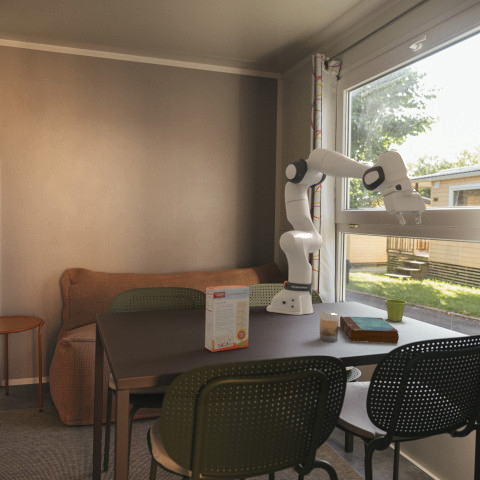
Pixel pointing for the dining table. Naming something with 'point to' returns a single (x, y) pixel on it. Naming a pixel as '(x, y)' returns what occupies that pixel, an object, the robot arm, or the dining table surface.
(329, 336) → the glass jar
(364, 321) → the book
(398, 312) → the plant pot
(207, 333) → the cracker box
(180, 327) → the dining table surface
